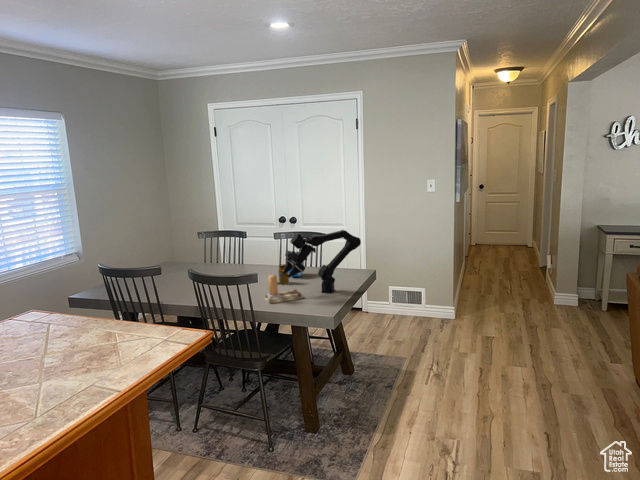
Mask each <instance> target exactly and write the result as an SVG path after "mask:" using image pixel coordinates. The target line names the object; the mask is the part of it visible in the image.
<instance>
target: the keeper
mask: <svg viewBox="0 0 640 480" xmlns="http://www.w3.org/2000/svg"><path fill="white" fill-rule="evenodd" d="M277 278H278V276H277V274H276V275H275V274H272V275H271V274H270V275H268V288H269V293H267V294H266V295H267V297H268V298H276V297H280V294H279V293H280V292H278V291H279V290H278V285H277V283H278V279H277Z"/></svg>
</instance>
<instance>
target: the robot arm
mask: <svg viewBox="0 0 640 480" xmlns="http://www.w3.org/2000/svg"><path fill="white" fill-rule="evenodd" d="M339 239H344V240H345V244H344V246H343V247H342V249H341V250H340V251H339V252H338V253H337V254H336V255H335V256H334V257H333V259H331V260H330V262H329V263H328V264H322V266H321V267H320V268H319V269H318V272H317V275H318V276H317V277H319V278H320V280H321V281H322V282H321V293H323V294H332V293H334V292H336V289H335V281H336V278H335V277H333V275H334V272H335V270H336V269H337V268H338V266H339V265H340V264H341V263H342V262H343V261H344V259H345V258H346V257H347V256H349V254H350V253H351V252H352V251H354V250H356V249H357V248H358V247H360V246H361V244H362V240H361V239H360V238H359V237H358V236H355V235H353V234H351V233H349V231H347V230H344V229H341V230H337V231H334V232H333V231H332V232H330V233H324V234H310V235H309V237H306V238H304V237H303V236H302V235H301V234H300V233H297V234H296V235H294V236H293V237H292V238H291V239H290V241H289V242H290V243H291V245H292V246H293V247H295V248H296V249H297V250H298V249H299V250H298V251H293V250H292V251H291V250H286V252H285V255H284V257H285V256H286V258H285V261H286V267H285V269H284V272H283V273H284V274H285V273H287V272H288V271H290V270H291V269H292V270H291V272H290V273H289V272H288V277H289V278H292V277H294V275H296V274H298V273H300V272H302V271H303V272H305V270H306V267H305V265H304V266H303V265H302V263H303V262H304V263H305V261H307V260H308V257H309V256H310V254H312V252H313V253H316V250H317V249H316V247H319V246H321V245H322V244H324V243H326V242H330V241H335V240H339Z"/></svg>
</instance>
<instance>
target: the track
mask: <svg viewBox="0 0 640 480" xmlns="http://www.w3.org/2000/svg"><path fill="white" fill-rule="evenodd" d="M278 293H279V294H280V297H276V298H268V297H267V294H264V299H265V301H266V302H267V303H268V304H275V303H281V302H287V301H288V302H289V301H295V300H300V299H303V298H304V296H303V295H302V293H301V291H299V290H297V289H292V290H288V291H282V292H281V291H280V292H278Z"/></svg>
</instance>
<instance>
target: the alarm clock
mask: <svg viewBox="0 0 640 480" xmlns="http://www.w3.org/2000/svg"><path fill="white" fill-rule="evenodd" d="M302 265H303V266H305V261H304V262H303V263H302ZM291 270H292V269H291ZM291 270H290V271H288V274H289V273H290V272H291ZM303 273H304V271H302V272H300V273H298V274H296V275H294V276H293V277H295V278H300V277H302V275H303Z"/></svg>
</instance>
